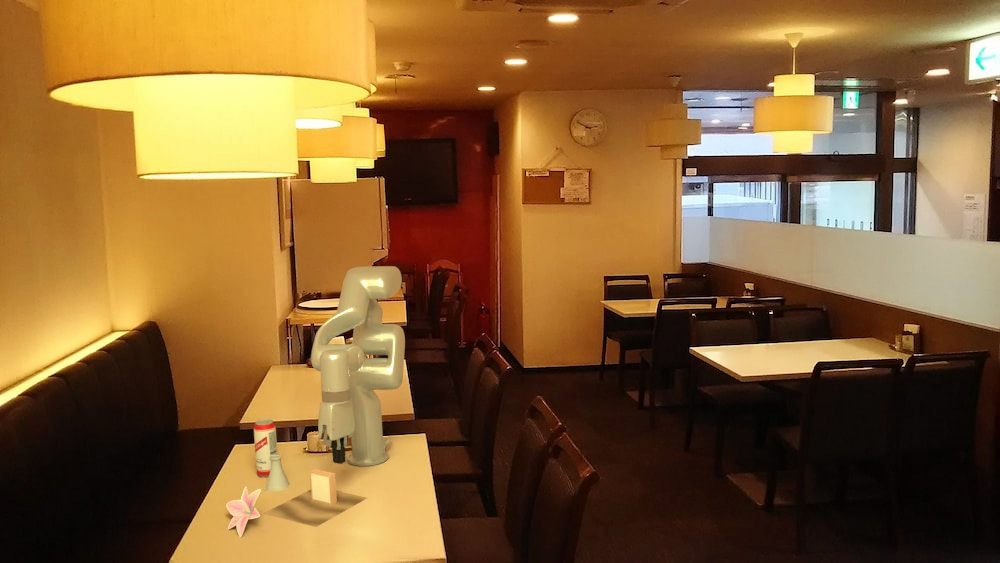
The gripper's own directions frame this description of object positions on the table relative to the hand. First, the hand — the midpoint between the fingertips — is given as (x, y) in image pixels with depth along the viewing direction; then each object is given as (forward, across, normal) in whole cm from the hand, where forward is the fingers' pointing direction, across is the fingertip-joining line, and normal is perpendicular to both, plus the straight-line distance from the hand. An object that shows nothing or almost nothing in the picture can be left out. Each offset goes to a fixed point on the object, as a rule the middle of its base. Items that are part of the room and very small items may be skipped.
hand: (339, 462), depth 222 cm
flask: (+10, +4, -19) cm, 22 cm away
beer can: (+10, -4, -31) cm, 33 cm away
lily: (+11, +25, -9) cm, 29 cm away
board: (+10, +9, 0) cm, 14 cm away
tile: (+9, +6, 0) cm, 11 cm away
